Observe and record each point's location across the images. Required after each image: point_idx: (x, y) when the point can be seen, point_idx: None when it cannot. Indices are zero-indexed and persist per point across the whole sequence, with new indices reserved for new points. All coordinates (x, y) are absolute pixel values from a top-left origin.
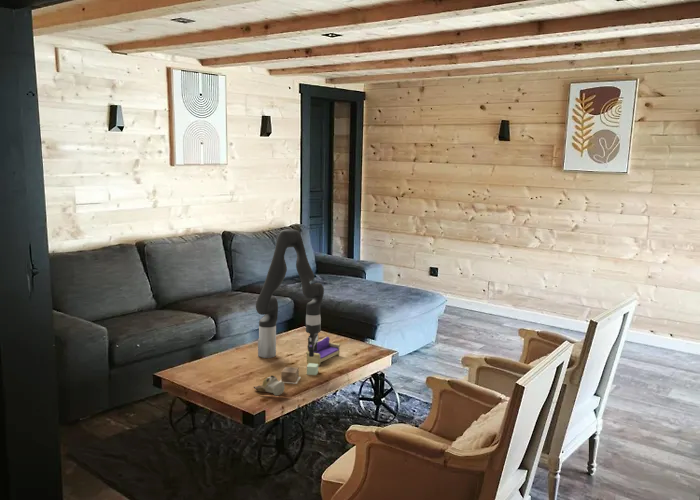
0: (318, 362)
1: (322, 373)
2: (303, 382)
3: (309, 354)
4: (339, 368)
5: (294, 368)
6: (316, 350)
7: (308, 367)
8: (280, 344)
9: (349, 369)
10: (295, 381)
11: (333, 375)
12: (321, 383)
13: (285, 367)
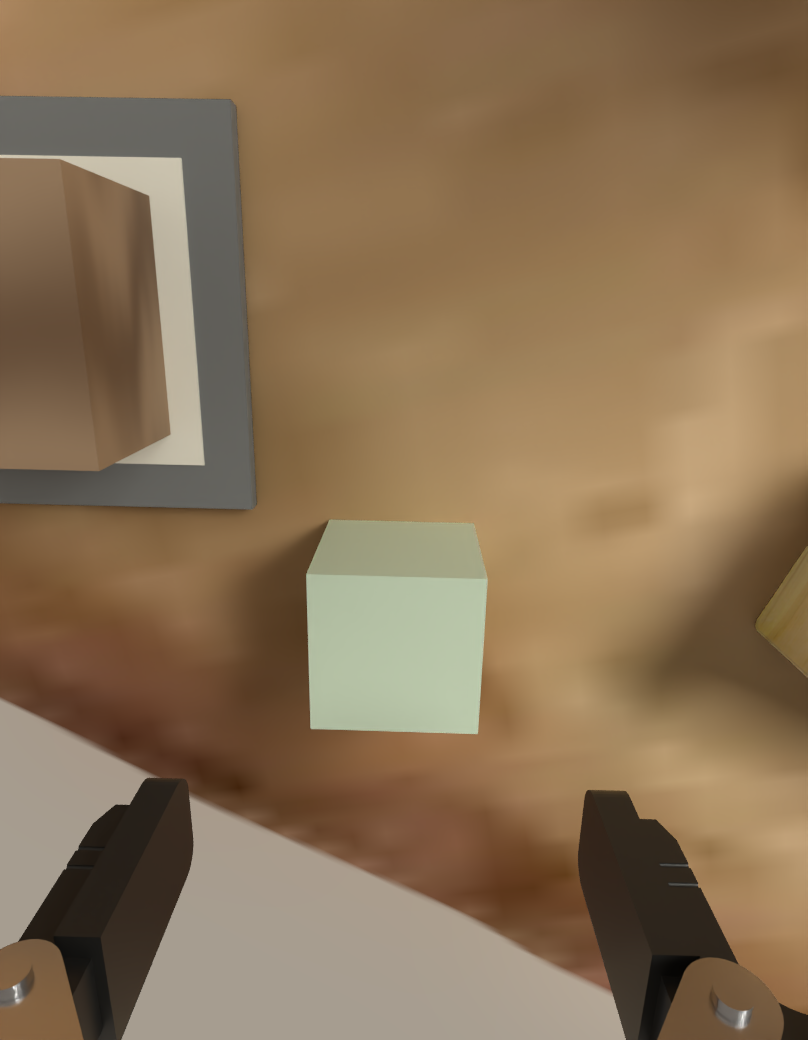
0: (787, 636)
1: None
2: (71, 523)
3: (130, 812)
4: None
5: (41, 395)
6: (583, 880)
7: (310, 597)
8: None
9: None
10: None
11: (410, 830)
12: (114, 739)
13: (31, 182)
